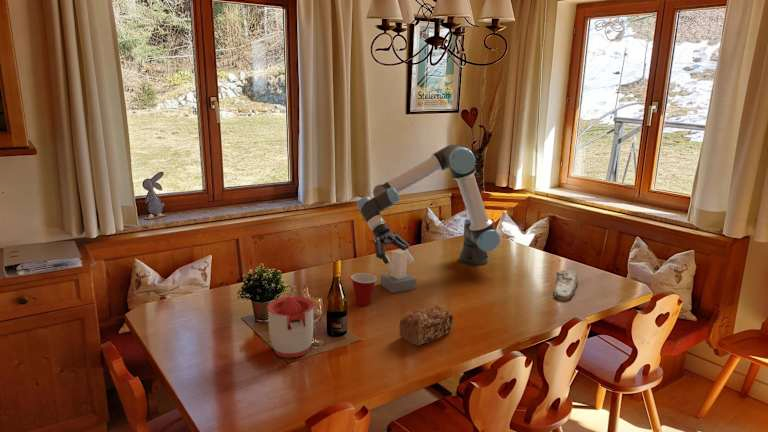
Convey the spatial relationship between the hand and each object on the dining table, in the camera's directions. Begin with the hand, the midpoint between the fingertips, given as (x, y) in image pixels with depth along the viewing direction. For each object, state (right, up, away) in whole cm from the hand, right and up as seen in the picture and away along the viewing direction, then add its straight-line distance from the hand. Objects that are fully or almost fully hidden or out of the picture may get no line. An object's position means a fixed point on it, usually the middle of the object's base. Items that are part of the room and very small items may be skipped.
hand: (402, 265), depth 240 cm
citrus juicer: (-40, -25, -56) cm, 73 cm away
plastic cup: (-17, -15, -15) cm, 27 cm away
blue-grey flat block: (-2, -10, +4) cm, 11 cm away
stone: (+75, -11, +6) cm, 76 cm away
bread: (+7, -22, -42) cm, 48 cm away
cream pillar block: (-2, -5, +3) cm, 6 cm away
